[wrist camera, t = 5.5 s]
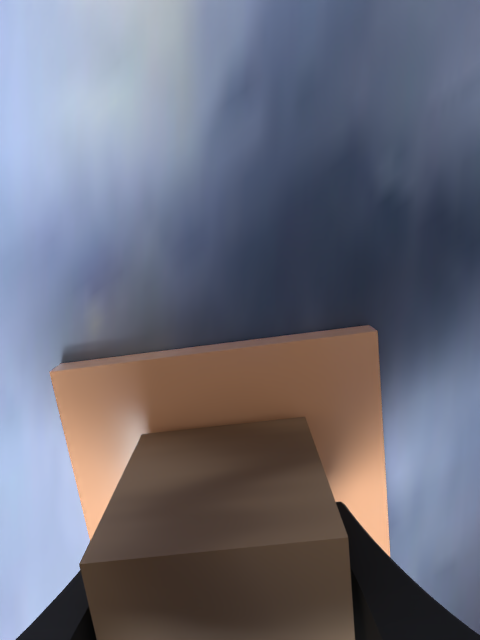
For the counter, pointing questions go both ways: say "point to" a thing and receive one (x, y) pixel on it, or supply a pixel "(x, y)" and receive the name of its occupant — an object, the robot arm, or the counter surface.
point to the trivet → (233, 409)
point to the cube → (222, 540)
